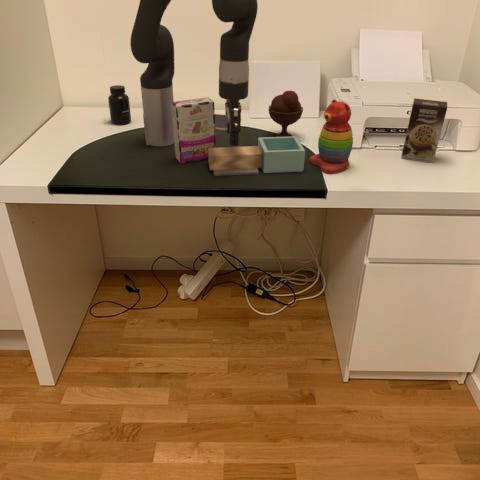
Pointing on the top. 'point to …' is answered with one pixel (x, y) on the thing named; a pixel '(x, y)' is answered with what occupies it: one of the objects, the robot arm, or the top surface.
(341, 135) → the stacking bear
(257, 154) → the wooden block
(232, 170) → the mat
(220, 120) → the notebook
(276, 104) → the ice cream bowl
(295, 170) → the dish
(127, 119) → the supplement bottle
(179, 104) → the candy bar box
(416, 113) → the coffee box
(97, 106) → the top surface
